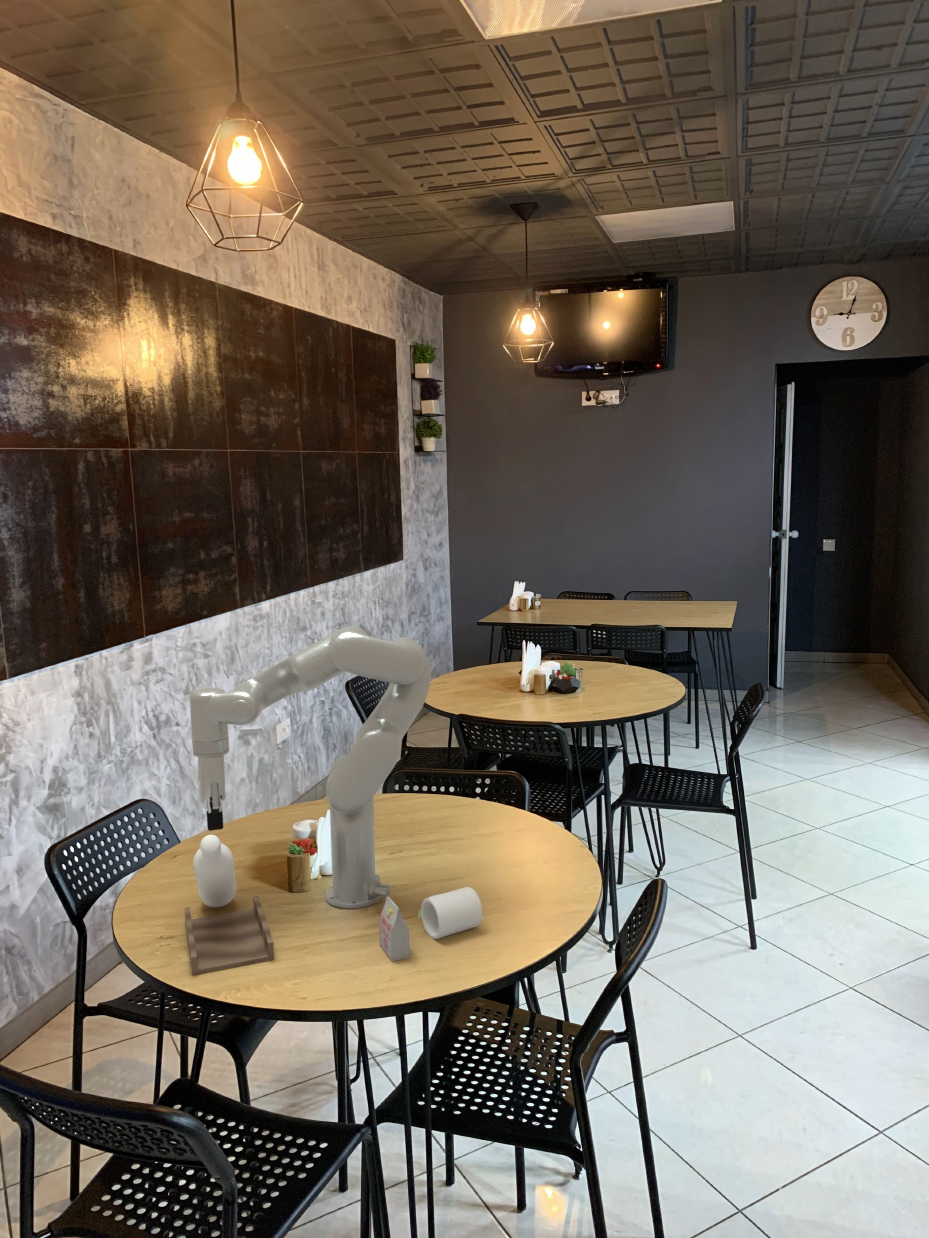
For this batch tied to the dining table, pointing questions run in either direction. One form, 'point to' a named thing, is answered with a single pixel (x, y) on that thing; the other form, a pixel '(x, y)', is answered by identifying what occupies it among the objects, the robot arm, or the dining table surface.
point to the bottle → (214, 872)
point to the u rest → (228, 939)
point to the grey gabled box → (393, 932)
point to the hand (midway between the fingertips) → (215, 828)
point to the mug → (451, 912)
